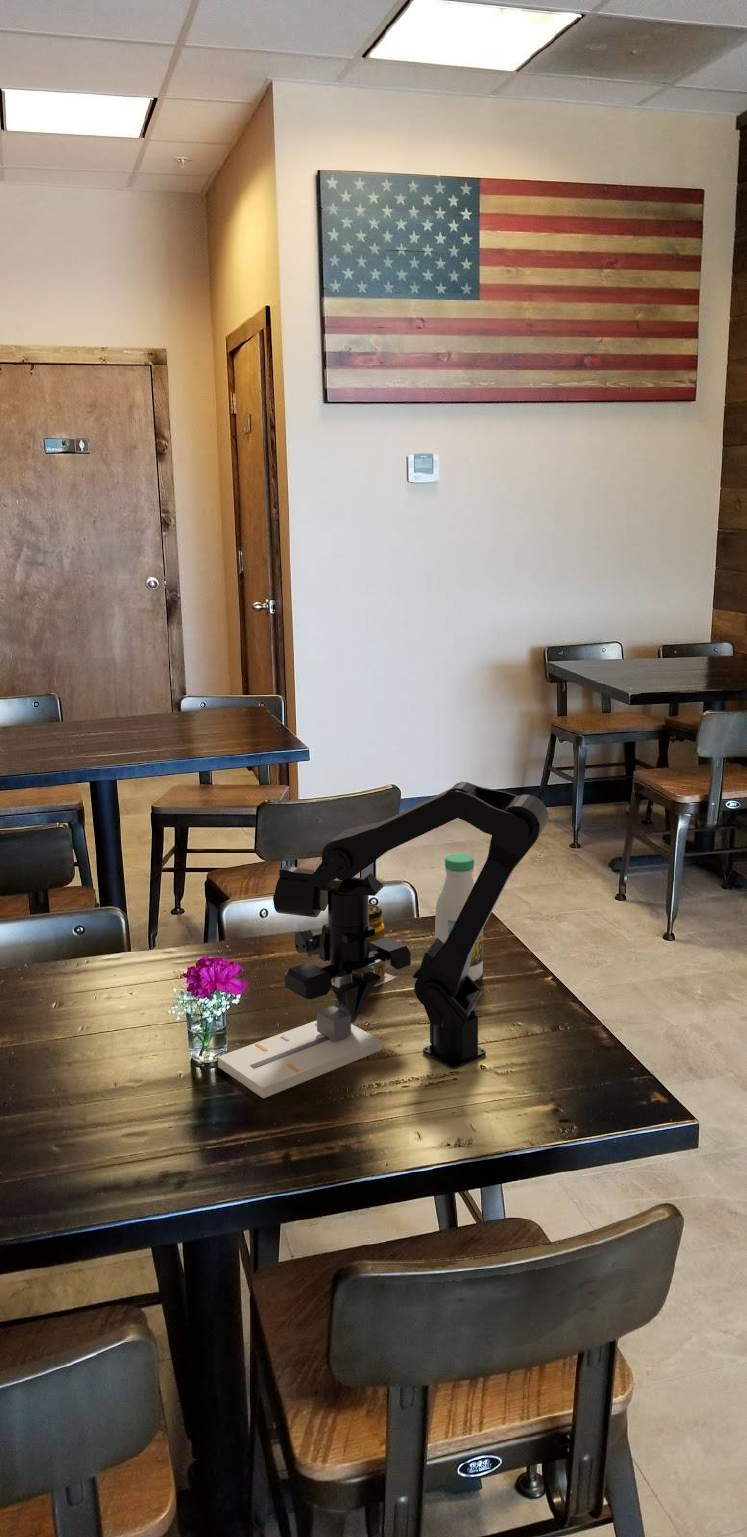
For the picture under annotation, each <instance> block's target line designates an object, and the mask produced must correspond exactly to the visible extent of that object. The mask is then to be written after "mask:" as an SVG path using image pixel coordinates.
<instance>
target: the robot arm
mask: <svg viewBox="0 0 747 1537" xmlns="http://www.w3.org/2000/svg"><path fill="white" fill-rule="evenodd" d="M549 817H550V816H549V812H548V810H547V806H546V805H545V804H544V802H543V801H542V800H541V799H540V798H538V797H537V796H535V795H531V794H520V795H517V794H514V793H512V792H511V793H510V792H508V791H504V790H499V789H493V788H487V787H483V786H479V785H476V784H473V783H470V782H467V781H460V782H456V784H454V785H453V786H452V787H451V788H449V789H447V790H445V791H443V792H441V793H438V794H437V795H435V796H433V797H431V798H428V799H426V800H423V802H421V803H418V804H416V805H413V806H412V807H409V808H408V809H405V810H404V811H402V812H400V813H398V814H396V815H394V816H391V817H389V818H387V819H386V820H382V821H378V822H375V823H374V822H373V823H367V824H366V823H365V824H362V825H359V826H355V827H351V828H348V829H345V830H343V831H342V832H340V834H338V835H337V836H336V837H334V838H333V839H332V840H331V841H329V842H328V843H327V844H326V845H324V847H322V852H321V863H320V864H319V865H318V867H317V868H315V869H309V868H300V867H297V866H293V865H284V866H283V867H281V869H279V871H278V873H279V875H278V876H279V877H278V879H277V882H276V885H275V888H274V894H273V895H272V896H273V897H272V901H273V902H272V903H273V907H274V910H275V912H276V913H277V914H283V915H290V916H300V917H307V918H308V917H309V918H317V917H319V915H320V914H321V912H324V911H326V910H327V920H328V921H327V923H326V924H325V923H324V924H322V927H321V929H319V930H316V931H313V932H312V930H311V929H310V928H309V929H308V928H307V929H302V930H299V931H295V932H294V946H295V952H297V953H298V954H306V955H307V957H309V958H310V957H312V956H319V960H321V961H323V962H329V963H328V964H329V965H326V966H322V967H319V966H317V965H315V964H314V963H311V962H310V961H307V962H305V963H302V964H299V965H296V966H292V967H289V968H288V969H287V970H286V972H285V974H284V988H286V989H288V990H290V991H291V992H293V993H295V994H297V995H299V996H301V997H302V998H304V999H305V1000H314V999H317V998H320V997H323V996H326V995H328V994H329V992H330V991H331V990H332V992H333V995H334V996H335V998H336V1001H337V1002H338V1005H339V1007H340V1008H339V1009H340V1010H342V1011H344V1012H346V1013H348V1014H349V1015H351V1024H355V1022H356V1020H357V1018H358V1016H359V1014H360V1012H361V1010H362V1009H363V1006H364V1005H365V1003H366V1000H367V999H368V997H369V995H370V993H371V991H373V989H374V986H375V984H376V982H378V981H380V980H381V976H379V975H377V974H375V969H374V965H376V964H379V963H382V962H385V963H386V962H388V961H389V963H390V964H389V965H390V966H391V967H392V968H393V969H395V970H397V971H398V970H401V969H404V968H407V967H410V966H411V965H412V952H411V951H410V948H409V947H408V946H407V945H406V944H404V943H402V942H400V941H397V940H395V939H393V938H390V937H388V936H386V937H384V938H382V939H379V940H376V941H373V942H370V943H369V937H370V936H374V935H375V928H373V927H371V926H369V904H370V902H369V901H370V900H369V899H370V898H369V897H370V896H372V897H374V896H376V895H377V894H378V893H379V892H380V891H382V889H383V888H384V884H383V883H382V881H380V880H379V879H377V878H376V877H375V876H374V874H373V873H372V872H370V873H368V874H367V875H366V876H365V877H355V876H357V875H359V874H360V873H361V872H362V871H364V870H365V869H366V868H368V867H369V866H370V865H372V864H373V863H374V862H376V861H377V860H378V859H379V858H381V857H382V856H383V855H384V854H387V852H389V851H391V850H394V849H396V848H398V847H400V846H401V845H403V844H406V843H408V842H409V841H412V840H414V839H416V838H419V837H420V836H423V835H425V834H427V833H429V832H431V831H433V830H436V829H437V828H440V827H442V826H443V825H446V824H447V823H450V822H452V821H455V820H456V819H459V820H462V821H465V822H467V823H468V824H469V825H471V826H473V827H475V828H476V829H477V830H479V831H481V832H482V833H485V834H487V835H489V836H491V837H490V842H489V847H488V852H487V853H488V854H487V858H486V861H485V862H484V865H483V867H482V869H481V871H480V872H479V875H478V877H477V878H476V881H475V882H474V886H473V888H472V890H471V892H470V894H469V896H468V898H467V900H466V902H465V904H464V906H463V908H462V910H461V912H460V914H459V916H458V918H457V920H456V922H455V924H454V926H453V928H452V930H451V932H450V934H449V936H448V938H447V940H446V941H445V943H443V942H442V941H441V940H439V939H438V938H436V939H435V938H434V940H433V942H431V944H430V946H429V947H428V948H427V950H426V951H425V952H424V954H423V957H422V960H421V964H420V965H419V967H418V968H417V969H416V971H415V972H414V973H413V975H412V979H416V980H415V982H414V986H413V992H414V993H415V995H416V998H417V1000H418V1001H419V1002H420V1004H422V1006H423V1007H424V1010H425V1012H426V1015H427V1018H428V1021H429V1043H430V1045H428V1046H425V1047H423V1048H422V1052H423V1054H425V1055H427V1056H429V1057H431V1058H433V1059H434V1060H436V1061H438V1062H440V1063H442V1064H444V1065H445V1066H447V1067H449V1068H450V1069H451V1068H452V1069H457V1068H459V1067H461V1066H463V1065H466V1064H467V1063H470V1062H472V1061H474V1060H477V1059H479V1058H481V1057H484V1056H485V1055H487V1050H486V1049H484V1048H482V1047H481V1046H479V1016H478V1015H476V1012H475V1010H474V1008H475V1007H476V1004H478V1002H479V1000H480V997H481V996H482V993H483V990H482V989H481V987H480V986H479V985H478V984H477V983H476V982H475V981H473V980H472V979H471V978H470V977H469V976H468V975H467V974H468V971H469V967H470V964H471V959H472V953H473V948H474V945H475V943H476V942H477V940H478V938H479V936H480V934H481V932H482V930H483V931H484V927H485V925H486V924H487V922H488V920H489V918H490V917H491V915H492V912H493V910H494V908H495V907H496V905H497V902H498V900H499V899H500V896H501V895H502V893H503V891H504V888H505V887H506V885H507V883H508V881H509V879H510V878H511V876H512V873H513V872H514V870H515V868H516V867H517V866H518V864H519V863H520V862H521V861H522V859H524V857H525V856H526V854H527V853H528V852H529V851H530V849H532V847H533V846H534V844H535V843H536V842H537V841H538V839H539V837H540V836H541V834H542V833H543V831H544V830H545V828H546V826H547V825H548V823H549ZM336 879H337V880H336ZM375 987H376V986H375Z"/></svg>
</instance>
